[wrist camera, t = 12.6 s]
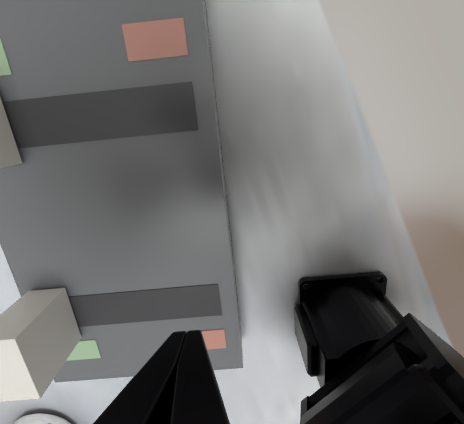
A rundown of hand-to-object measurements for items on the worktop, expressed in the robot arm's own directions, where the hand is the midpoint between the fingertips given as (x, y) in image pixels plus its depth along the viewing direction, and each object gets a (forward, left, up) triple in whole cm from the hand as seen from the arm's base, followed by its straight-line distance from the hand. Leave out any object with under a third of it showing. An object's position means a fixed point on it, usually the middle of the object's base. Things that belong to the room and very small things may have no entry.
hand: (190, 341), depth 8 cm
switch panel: (+6, -1, -12) cm, 13 cm away
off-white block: (+11, +5, -9) cm, 15 cm away
